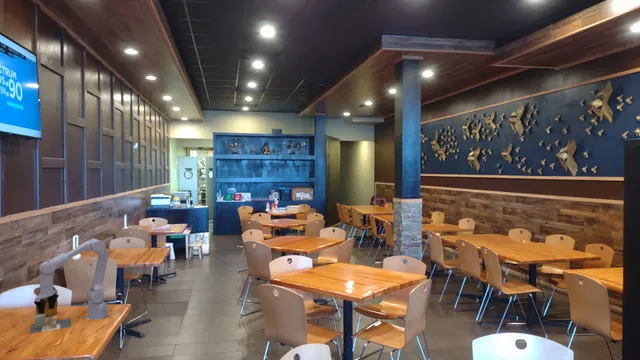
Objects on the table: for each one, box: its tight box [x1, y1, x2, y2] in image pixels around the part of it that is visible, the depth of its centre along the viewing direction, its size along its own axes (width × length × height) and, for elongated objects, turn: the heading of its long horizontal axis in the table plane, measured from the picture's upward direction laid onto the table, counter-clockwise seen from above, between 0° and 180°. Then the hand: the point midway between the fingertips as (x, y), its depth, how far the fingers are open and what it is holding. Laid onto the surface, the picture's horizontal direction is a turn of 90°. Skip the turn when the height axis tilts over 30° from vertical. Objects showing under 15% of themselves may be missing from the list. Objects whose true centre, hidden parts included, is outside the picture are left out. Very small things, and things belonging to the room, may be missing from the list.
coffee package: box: [35, 285, 59, 318], centre depth 238 cm, size 10×12×22 cm
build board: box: [29, 318, 72, 335], centre depth 220 cm, size 18×15×1 cm
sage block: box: [34, 314, 46, 327], centre depth 221 cm, size 5×5×5 cm
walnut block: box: [45, 315, 57, 330], centre depth 217 cm, size 5×5×5 cm
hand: (46, 311), depth 218 cm, fingers open, 7 cm apart
